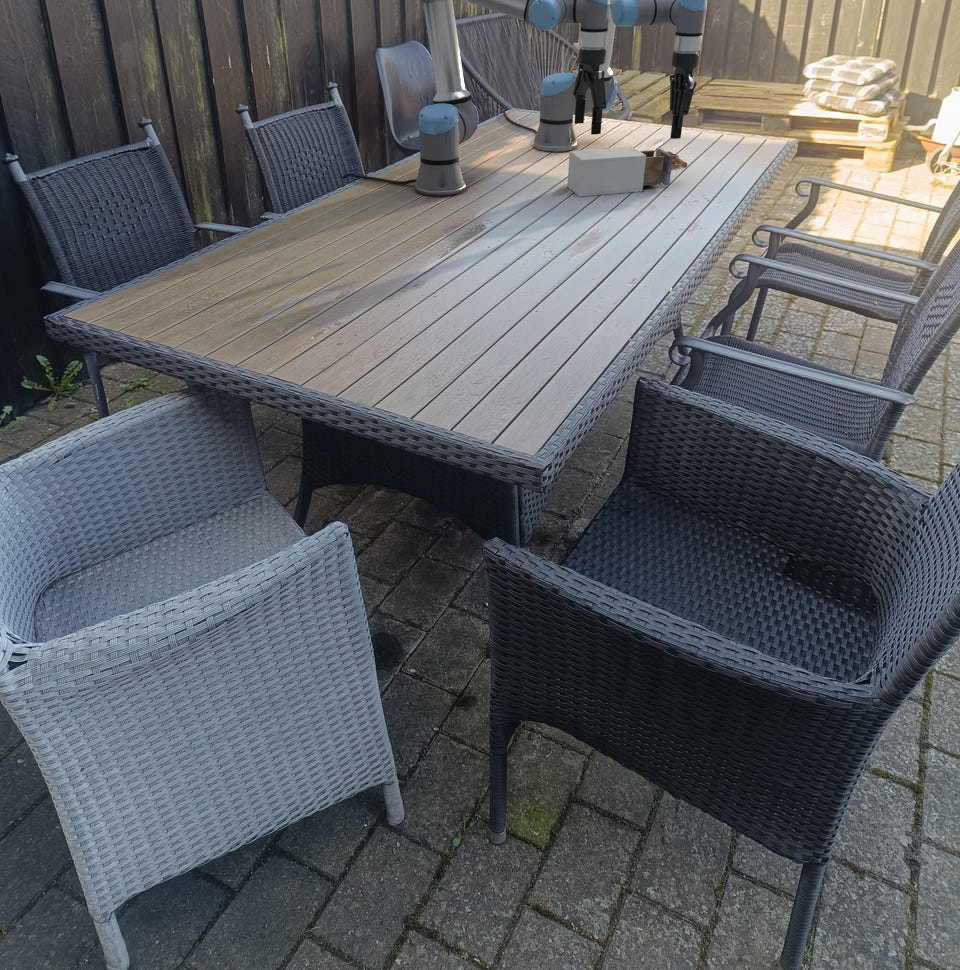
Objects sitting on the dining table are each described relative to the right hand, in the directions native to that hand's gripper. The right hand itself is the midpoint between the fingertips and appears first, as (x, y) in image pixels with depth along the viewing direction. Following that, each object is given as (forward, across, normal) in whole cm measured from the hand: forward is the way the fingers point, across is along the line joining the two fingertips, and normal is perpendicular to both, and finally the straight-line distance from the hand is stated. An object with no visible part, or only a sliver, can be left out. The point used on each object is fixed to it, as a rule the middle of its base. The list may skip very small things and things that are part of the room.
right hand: (675, 138), depth 256 cm
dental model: (+14, +19, -9) cm, 25 cm away
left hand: (-4, 0, +29) cm, 29 cm away
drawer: (+13, 0, +9) cm, 16 cm away
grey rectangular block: (+14, 0, +22) cm, 26 cm away
